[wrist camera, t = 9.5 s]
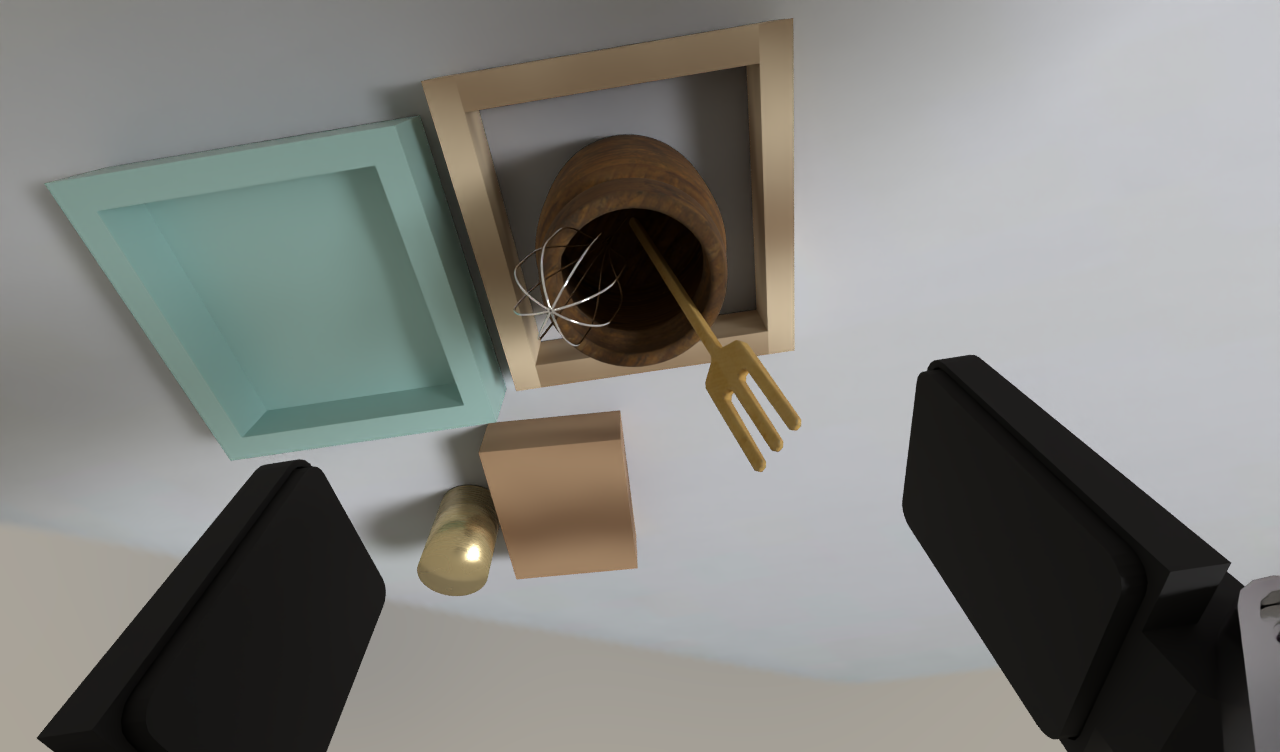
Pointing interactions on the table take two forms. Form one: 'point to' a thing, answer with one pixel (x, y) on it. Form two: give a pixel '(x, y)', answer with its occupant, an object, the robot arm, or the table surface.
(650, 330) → the utensil holder
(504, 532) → the board
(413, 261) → the tray
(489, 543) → the cylinder
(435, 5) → the table surface
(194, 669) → the robot arm
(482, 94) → the wooden square frame
